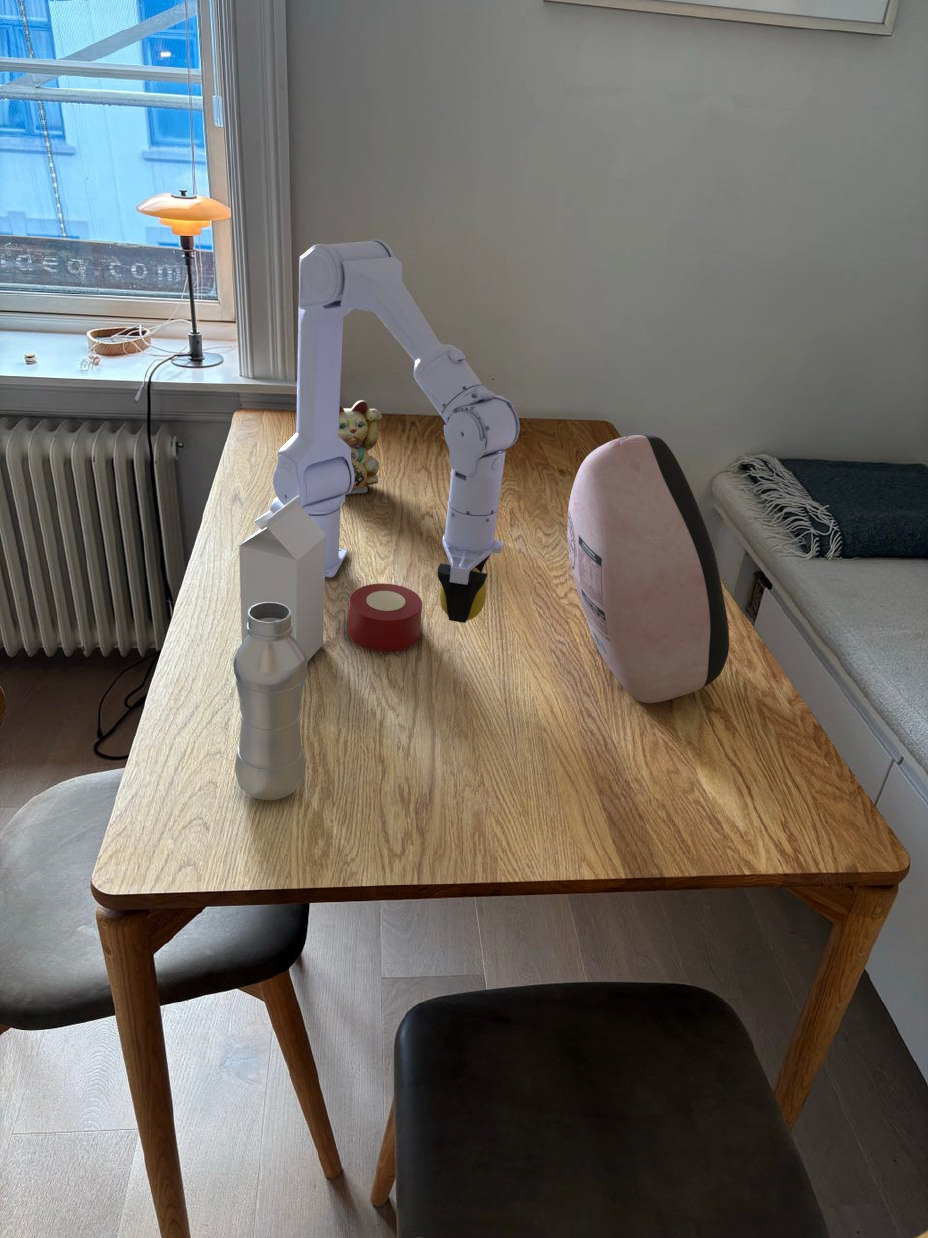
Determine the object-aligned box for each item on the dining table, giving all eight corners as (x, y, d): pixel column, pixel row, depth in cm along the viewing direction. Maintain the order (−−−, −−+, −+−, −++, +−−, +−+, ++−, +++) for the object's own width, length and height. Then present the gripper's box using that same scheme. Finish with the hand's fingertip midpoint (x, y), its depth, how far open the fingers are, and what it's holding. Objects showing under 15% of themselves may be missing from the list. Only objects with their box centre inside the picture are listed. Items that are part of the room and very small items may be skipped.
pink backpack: (735, 724, 110) (809, 483, 94) (573, 728, 106) (621, 479, 90) (670, 623, 128) (722, 408, 113) (529, 624, 124) (563, 402, 109)
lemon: (477, 637, 113) (485, 579, 109) (432, 628, 114) (438, 570, 110) (485, 615, 118) (493, 558, 114) (442, 606, 118) (448, 549, 114)
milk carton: (323, 645, 115) (327, 502, 106) (296, 675, 109) (297, 526, 100) (271, 630, 117) (270, 488, 107) (241, 659, 111) (237, 511, 101)
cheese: (339, 645, 116) (341, 612, 113) (357, 608, 123) (358, 577, 121) (412, 656, 115) (414, 624, 113) (425, 619, 123) (428, 588, 120)
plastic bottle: (239, 764, 95) (233, 592, 85) (307, 765, 96) (310, 595, 86) (231, 809, 90) (224, 630, 80) (303, 809, 91) (306, 633, 80)
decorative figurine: (329, 500, 151) (331, 408, 143) (309, 479, 157) (311, 391, 149) (384, 492, 155) (389, 403, 148) (363, 473, 161) (367, 387, 154)
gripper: (501, 538, 101) (486, 644, 108) (514, 485, 114) (500, 584, 121) (436, 527, 102) (425, 634, 109) (456, 477, 114) (446, 575, 121)
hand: (461, 607), depth 115 cm, fingers closed on lemon, 5 cm apart
